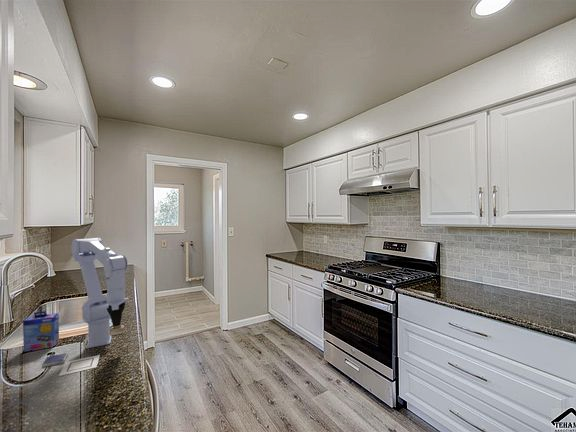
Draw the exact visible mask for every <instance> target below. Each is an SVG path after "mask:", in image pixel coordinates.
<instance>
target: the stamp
mask: <svg viewBox="0 0 576 432" xmlns="http://www.w3.org/2000/svg"><path fill="white" fill-rule="evenodd" d="M124 332H125V325H124V324H122V322H121V323H120V326H113V325H112V327H111V326H110V335H111V337H112V338H113V337H115V336H116V337H117V336H120V335H121V336H123V335H124Z"/></svg>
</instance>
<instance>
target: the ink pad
mask: <svg viewBox="0 0 576 432" xmlns="http://www.w3.org/2000/svg"><path fill="white" fill-rule="evenodd" d="M68 357H69V353H68V352H65V353H59V354H55V355H51V356H47V357H46V358H45V360H44V361H43V362H42V364H41V368H45V367H46V368H47V367H52V366H56V364H57V365H60V364H65V363H66V360H67V358H68Z"/></svg>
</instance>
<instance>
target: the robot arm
mask: <svg viewBox="0 0 576 432" xmlns="http://www.w3.org/2000/svg"><path fill="white" fill-rule="evenodd" d="M103 245H104V243H103V240H102V238H100V237H92V238H91V237H90V238H74V239H73V240H72V242H71V246H70V247H71V253H72V257H73V260H74V261H75V262H77V263H78V264H79V267H80V271H81V274H82V279H83V283H84V285H85V290H86V291H85V292H86V293H87V300H86V301H85V302H84V303H83V305H82V307H81V311H82V314H81V315H82V320H83V322H84V323H85V324H88V325H87V326H88V328H87V329H88V331H87V332H88V335H87V336H88V340H87V341H88V342H87V344H86V346H85V349H90V348H91V349H92V348H95V347H101V346H104V345H105V346H106V345H110V344H111V343H112V342H111V341H112V338H113V336H112V337H111V326H110V321H111V323H112V324H111V325H112V327H113V326H120V323H121V324H122V316H123V312H124V310H125V307H126V306H125V305H126V302H127V301H129V300H130V299H129V298H130V297H126V287H125V286H126V283H125V282H126V281H125V280H126V279H125V276H126V275H125V270H127V268H128V259H127V257H126V256H125V254H121V255H118V254H117V253H116V252H114V250H112V249H111V247H105V246H103ZM95 260H97V261H99V263H101V264H102V265H103V270H104V275H105V277H106V291H107V292H106V294H107V296H106V295H104V294H103V291H102V286H101V285H100V284H101V283H100V279H99V277H98V272H97V269H96V265H95Z"/></svg>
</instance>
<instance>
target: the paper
mask: <svg viewBox="0 0 576 432" xmlns="http://www.w3.org/2000/svg"><path fill="white" fill-rule="evenodd" d="M100 356H101V354H97V355H96V354H95V355H93V356H88V357H83V358H79V359H74V360H68V361H65V362H64V364H63V367H62V368H61V370H60V373H58V377H61V376H66V375H70V374H76V373H79V372H83V371H88V370H92V369H96V368H97V367H98V363H99V361H100Z"/></svg>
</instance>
